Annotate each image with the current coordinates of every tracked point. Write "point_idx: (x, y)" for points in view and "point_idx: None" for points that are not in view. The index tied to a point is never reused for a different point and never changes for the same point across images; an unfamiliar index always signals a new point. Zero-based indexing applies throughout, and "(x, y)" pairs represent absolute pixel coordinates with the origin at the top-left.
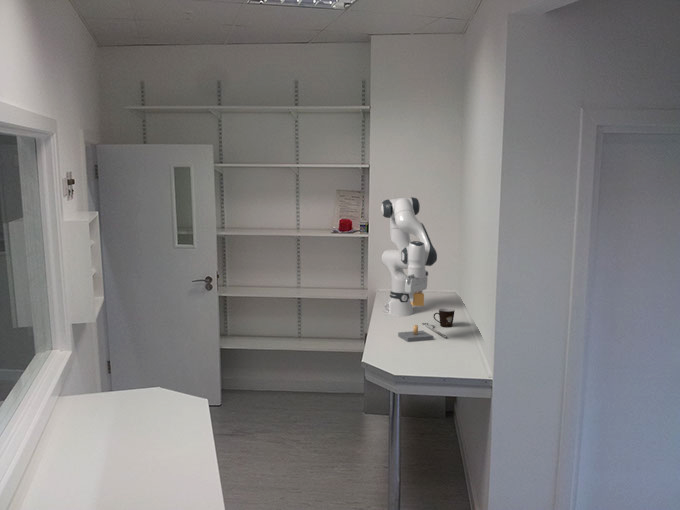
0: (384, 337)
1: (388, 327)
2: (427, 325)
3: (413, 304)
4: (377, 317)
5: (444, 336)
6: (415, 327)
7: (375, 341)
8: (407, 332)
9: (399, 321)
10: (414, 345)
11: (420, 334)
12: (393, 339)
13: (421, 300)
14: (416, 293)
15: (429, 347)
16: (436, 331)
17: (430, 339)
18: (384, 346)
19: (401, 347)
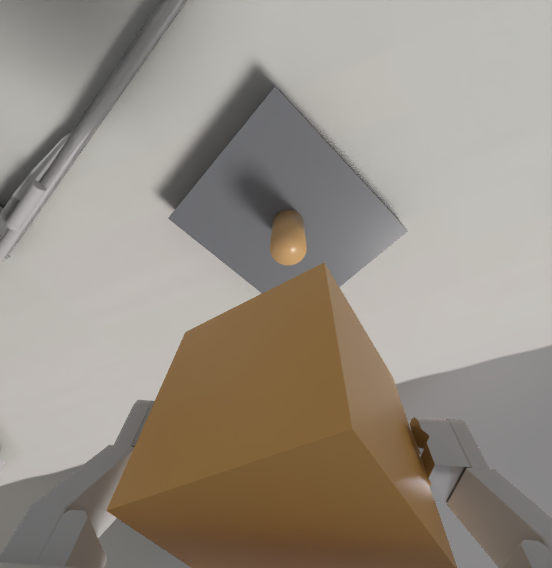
0: None
1: (154, 397)
2: (4, 245)
3: (392, 384)
4: (29, 475)
5: (174, 12)
6: (305, 240)
7: (445, 356)
8: (270, 280)
9: (10, 398)
10: (479, 151)
11: (278, 193)
12: (373, 305)
13: (353, 347)
14: (349, 548)
15: (515, 20)
16: (88, 134)
17: (291, 103)
18: (540, 291)
19: (548, 206)
